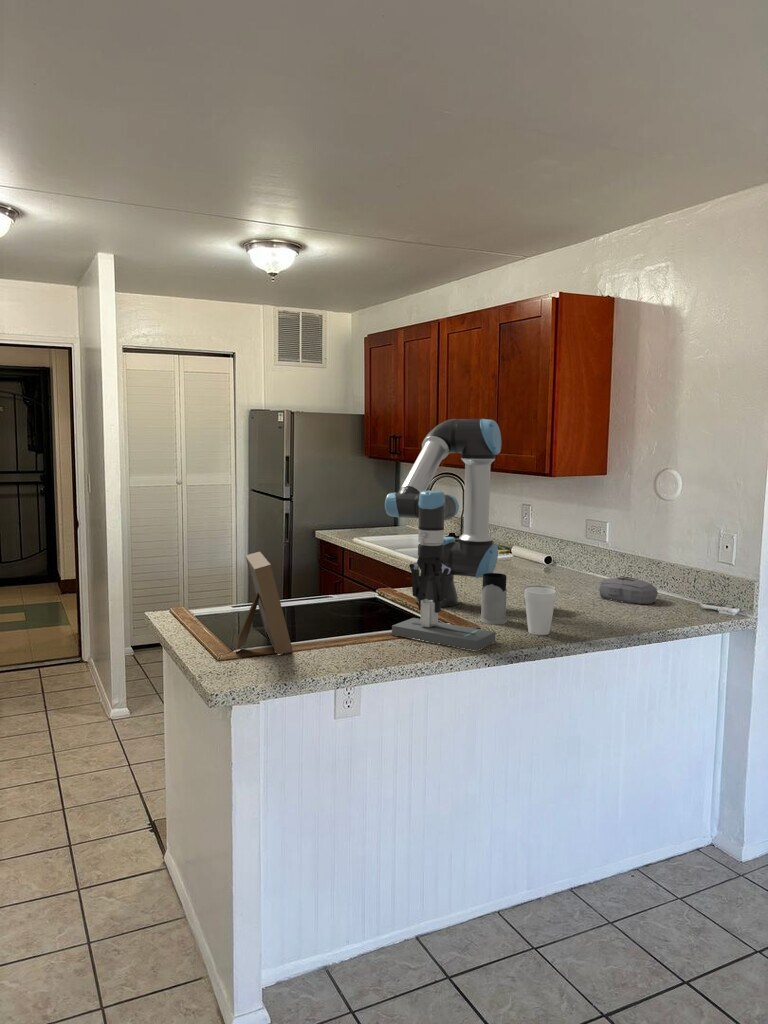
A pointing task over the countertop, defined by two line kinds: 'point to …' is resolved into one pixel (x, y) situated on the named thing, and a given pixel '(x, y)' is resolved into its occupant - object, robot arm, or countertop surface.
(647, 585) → the soft grey pack
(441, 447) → the robot arm
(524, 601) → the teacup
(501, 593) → the glass holder
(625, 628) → the countertop surface
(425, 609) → the fader knob
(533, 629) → the foam cup
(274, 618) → the photo frame
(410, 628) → the fader console
